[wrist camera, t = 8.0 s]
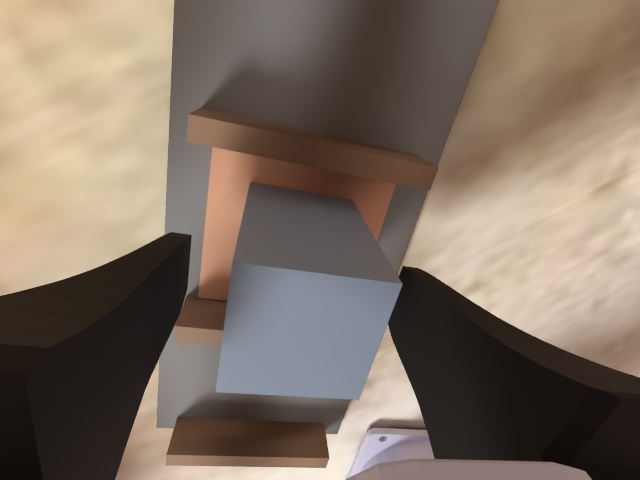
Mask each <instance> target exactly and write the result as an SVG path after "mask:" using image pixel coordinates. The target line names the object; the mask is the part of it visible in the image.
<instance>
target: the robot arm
mask: <svg viewBox="0 0 640 480" xmlns="http://www.w3.org/2000/svg"><path fill="white" fill-rule="evenodd" d="M191 238H192V235H189V234H182V233H175V232H170V233H168V234H166V235H164V236H162V237H160V238H158V239H156V240H154V241H152V242H150V243H149V244H147V245H145V246H143V247H141V248H139V249H137V250H135V251H133V252H131V253H129V254H127V255H125V256H122V257H120V258H118V259H116V260H113V261H111V262H109V263H107V264H105V265H102V266H100V267H97V268H95V269H92V270H90V271H87V272H84V273H81V274H79V275H76V276H73V277H70V278H67V279H64V280H60V281H57V282H54V283H50V284H46V285H42V286H39V287H35V288H31V289H27V290H24V291H20V292H16V293H12V294H7V295H2V296H0V480H115V478H116V475H117V472H118V469H119V465H120V462H121V459H122V456H123V453H124V450H125V447H126V444H127V441H128V438H129V435H130V432H131V429H132V426H133V423H134V420H135V418H136V415H137V412H138V409H139V406H140V403H141V400H142V397H143V395H144V392H145V389H146V387H147V384H148V382H149V379H150V377H151V375H152V372H153V370H154V368H155V366H156V364H157V362H158V360H159V358H160V356H161V353H162V351H163V349H164V347H165V345H166V343H167V341H168V339H169V337H170V334H171V332H172V330H173V328H174V326H175V324H176V322H177V319H178V317H179V315H180V312H181V309H182V306H183V302H184V299H185V296H186V292H187V289H188V276H189V264H190V251H191ZM399 279H400V280H401V282H402V287H401V290H400V292H399V295H398V298H397V300H396V303H395V305H394V308H393V311H392V313H391V316H390V319H389V321H388V325H389V329H390V333H391V337H392V339H393V342H394V344H395V347H396V349H397V352H398V354H399V357H400V359H401V361H402V364H403V366H404V368H405V371H406V373H407V376H408V378H409V380H410V383H411V385H412V388H413V390H414V392H415V395H416V398H417V400H418V403H419V406H420V409H421V413H422V416H423V419H424V423H425V426H426V429H427V430H417V429H393V428H372V429H369V430H368V431H367V433H366V435H365V437H364V439H363V442H362V444H361V446H360V449H359V451H358V454H357V456H356V458H355V461H354V463H353V465H352V468H351V470H350V472H349V475H348V477H347V479H346V480H640V378H639V377H636V376H633V375H629V374H626V373H623V372H620V371H617V370H614V369H611V368H608V367H606V366H603V365H600V364H598V363H595V362H592V361H590V360H587V359H584V358H582V357H579V356H577V355H574V354H572V353H569V352H567V351H565V350H562V349H560V348H558V347H556V346H553V345H551V344H549V343H547V342H544V341H542V340H540V339H538V338H536V337H534V336H532V335H530V334H528V333H526V332H524V331H522V330H520V329H518V328H516V327H514V326H512V325H510V324H508V323H507V322H505V321H503V320H501V319H500V318H498V317H496V316H494V315H493V314H491V313H490V312H488V311H486V310H485V309H483V308H481V307H480V306H478V305H476V304H475V303H473V302H472V301H470V300H469V299H467V298H466V297H464V296H463V295H461V294H460V293H458V292H457V291H455V290H454V289H452V288H451V287H449V286H448V285H446V284H445V283H443V282H441V281H440V280H438V279H437V278H435V277H434V276H432V275H430V274H429V273H427V272H425V271H423V270H421V269H419V268H413V267H406V266H403V267H402V270H401V273H400V275H399Z"/></svg>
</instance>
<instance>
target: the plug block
mask: <svg viewBox="0 0 640 480" xmlns="http://www.w3.org/2000/svg"><path fill="white" fill-rule="evenodd" d="M401 287H402V282H401V280H400V279H399V277H398V275H397V274H396V272H395V270H394V269H393V267H392V265H391V264H390V262H389V260H388V259H387V257H386V255H385V254H384V252H383V250H382V249H381V247H380V245H379V244H378V242H377V240H376V239H375V237H374V235H373V234H372V232H371V230H370V229H369V227H368V225H367V224H366V222H365V220H364V219H363V217H362V215H361V214H360V212H359V210H358V209H357V207H356V205H355V204H354V202H353V200H351V199H345V198H339V197H334V196H328V195H322V194H317V193H311V192H305V191H300V190H294V189H289V188H283V187H277V186H272V185H266V184H260V183H255V182H250V184H249V189H248V193H247V198H246V203H245V207H244V212H243V216H242V221H241V225H240V230H239V234H238V239H237V243H236V248H235V252H234V257H233V261H232V269H231V276H230V284H229V292H228V299H227V307H226V315H225V322H224V330H223V338H222V345H221V353H220V361H219V368H218V376H217V384H216V392H223V393H241V394H260V395H278V396H296V397H315V398H333V399H352V400H359V398H360V395H361V393H362V390H363V387H364V385H365V382H366V379H367V377H368V374H369V371H370V369H371V366H372V363H373V361H374V358H375V356H376V353H377V350H378V348H379V345H380V342H381V340H382V337H383V334H384V332H385V329H386V327H387V324H388V321H389V319H390V316H391V313H392V311H393V308H394V305H395V303H396V300H397V298H398V295H399V292H400V290H401Z"/></svg>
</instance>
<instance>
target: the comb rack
mask: <svg viewBox="0 0 640 480" xmlns="http://www.w3.org/2000/svg"><path fill="white" fill-rule="evenodd" d="M498 1H499V0H175V1H174V25H173V49H172V73H171V97H170V121H169V145H168V169H167V192H166V216H165V235H166V234H168V233H170V232H175V233H182V234H189V235H192V238H191V251H190V264H189V276H188V289H187V292H186V296H185V299H184V302H183V306H182V309H181V312H180V315H179V317H178V319H177V322H176V324H175V326H174V328H173V330H172V332H171V334H170V337H169V339H168V341H167V343H166V345H165V347H164V349H163V351H162V353H161V356H160V360H159V384H158V407H157V427H160V428H174V431H173V434H172V438H171V441H170V445H169V448H168V452H167V458H166V465H183V466H245V467H307V468H326V466H327V463H328V460H329V454H328V447H327V439H326V434H337V433H338V430H339V428H340V425H341V422H342V420H343V417H344V414H345V412H346V409H347V406H348V404H349V401H350V399H333V398H315V397H296V396H278V395H260V394H241V393H223V392H216V384H217V376H218V368H219V361H220V353H221V345H222V338H223V330H224V322H225V315H226V307H227V299H228V292H229V284H230V276H231V269H232V261H233V257H234V252H235V248H236V243H237V239H238V234H239V230H240V225H241V221H242V216H243V212H244V207H245V203H246V198H247V193H248V189H249V184H250V182H255V183H260V184H266V185H272V186H277V187H283V188H289V189H294V190H300V191H305V192H311V193H317V194H322V195H328V196H334V197H339V198H345V199H351V200H353V202H354V204H355V205H356V207H357V209H358V210H359V212H360V214H361V215H362V217H363V219H364V220H365V222H366V224H367V225H368V227H369V229H370V230H371V232H372V234H373V235H374V237H375V239H376V240H377V242H378V244H379V245H380V247H381V249H382V250H383V252H384V254H385V255H386V257H387V259H388V260H389V262H390V264H391V265H392V267H393V269H394V270H395V272H396V274H397V272H398V269H399V267H400V264H401V261H402V259H403V256H404V253H405V251H406V248H407V245H408V242H409V240H410V237H411V234H412V232H413V229H414V226H415V224H416V221H417V218H418V216H419V213H420V210H421V208H422V205H423V202H424V200H425V197H426V194H427V191H428V190H430V188H431V185H432V183H433V180H434V177H435V175H436V172H437V169H438V167H437V165H438V162H439V159H440V157H441V154H442V151H443V149H444V146H445V143H446V140H447V138H448V135H449V132H450V130H451V127H452V124H453V122H454V119H455V116H456V114H457V111H458V108H459V106H460V103H461V100H462V98H463V95H464V92H465V89H466V87H467V84H468V81H469V79H470V76H471V73H472V71H473V68H474V65H475V63H476V60H477V57H478V55H479V52H480V49H481V47H482V44H483V41H484V38H485V36H486V33H487V30H488V28H489V25H490V22H491V20H492V17H493V14H494V12H495V9H496V6H497V4H498Z"/></svg>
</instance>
